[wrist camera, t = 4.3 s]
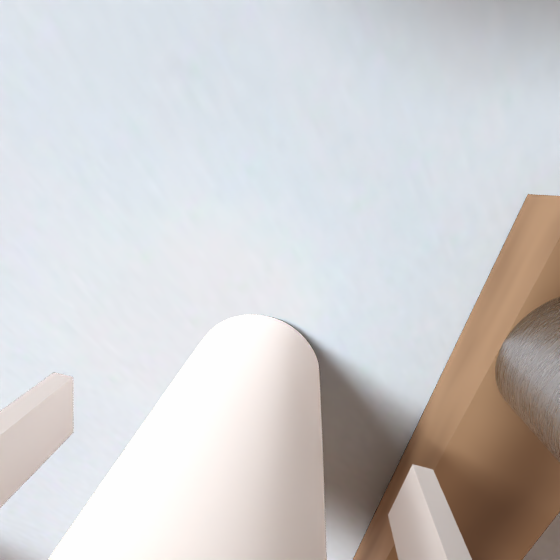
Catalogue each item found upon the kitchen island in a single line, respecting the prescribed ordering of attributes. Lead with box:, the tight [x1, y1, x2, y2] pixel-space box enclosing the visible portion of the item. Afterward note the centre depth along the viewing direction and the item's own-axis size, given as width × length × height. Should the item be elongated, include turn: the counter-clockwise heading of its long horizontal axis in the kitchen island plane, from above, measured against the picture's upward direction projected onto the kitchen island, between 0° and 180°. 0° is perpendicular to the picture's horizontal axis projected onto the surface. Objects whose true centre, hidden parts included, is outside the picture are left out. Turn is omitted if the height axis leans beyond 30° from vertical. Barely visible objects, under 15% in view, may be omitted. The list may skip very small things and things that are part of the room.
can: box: [48, 314, 327, 560], centre depth 10 cm, size 6×6×12 cm
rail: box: [353, 194, 560, 560], centre depth 15 cm, size 6×31×4 cm, turn 168°
